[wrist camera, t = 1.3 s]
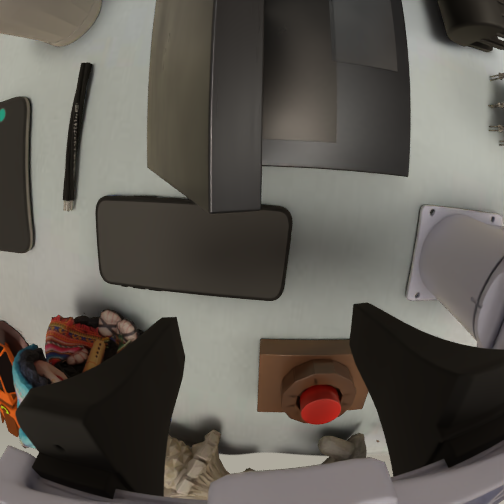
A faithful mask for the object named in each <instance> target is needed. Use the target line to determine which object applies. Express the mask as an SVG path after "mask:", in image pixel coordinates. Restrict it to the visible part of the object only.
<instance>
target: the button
mask: <svg viewBox="0 0 504 504" xmlns="http://www.w3.org/2000/svg"><path fill="white" fill-rule="evenodd" d="M299 401H300V411H301V417H302V419H303V420H304V421H305V422H307V423H310V424H325V423H328V422H330V421H332V420H334V419H335V418H336V417H337V416H338V415H339V414H340V412H341V405H340V401H339V396H338V392H337V390H336V389H335V388H334V387H332V386H330V385H314V386H311V387H309V388H307V389H306V390H305V391H303V393H302V394H301V396H300V399H299Z"/></svg>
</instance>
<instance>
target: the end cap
mask: <svg viewBox="0 0 504 504" xmlns="http://www.w3.org/2000/svg"><path fill="white" fill-rule="evenodd" d="M437 1H438V5H439V8H440V11H441V14H442V18H443V21H444V25H445V29H446V33H447V36H448V37H449V39H450V40H452V41H453V42H455V43H457V44H459V45H462V46H469V47H472V48H476V49H479V50H482V51H485V52H490V51H492V50H493V47H495V48H497V49H500V50H504V41H502V40H500V39H498V37H502V38H504V0H437ZM497 36H498V37H497Z"/></svg>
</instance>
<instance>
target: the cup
mask: <svg viewBox="0 0 504 504" xmlns="http://www.w3.org/2000/svg"><path fill="white" fill-rule="evenodd" d="M101 4H102V0H0V33H1V34H7V35H13V36H18V37H24V38H29V39H33V40H38V41H43V42H45V43H48V44H51V45H54V46H65V45H68V44H70V43H72V42H74V41H76V40H77V39H79V38H80V37H81V36H82V35H84V34H85V33H86V32H87V31H88V29H89V28H90V27H91V26H92V24H93V23H94V22H95V20H96V18H97V16H98V14H99V12H100V9H101Z"/></svg>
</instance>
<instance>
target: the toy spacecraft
mask: <svg viewBox="0 0 504 504" xmlns="http://www.w3.org/2000/svg"><path fill="white" fill-rule="evenodd" d="M27 346H28V344H27V343H26V342H25V341H24V339H23V338H22V337H21V336H20V334H19V333H18V332H17V331H16V330H14V329H13V328H12V327H10V326H9V325H8V324H7V323H5V322H4V321H0V413H1V418H2V423H3V422H4V420H5V421H6V424H7V428H8V431H9V432H10V433H11V434H13V435H15V436H16V437H18V436H19V429H20V426H19V424H18V422H17V419H16V416H15V411H16V409H17V395H16V391H15V387H14V382H13V373H12V366H13V361H14V358H15V357H16V355H17V353H18V352H19V351H20V350H22V349H24V348H25V347H27Z"/></svg>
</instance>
